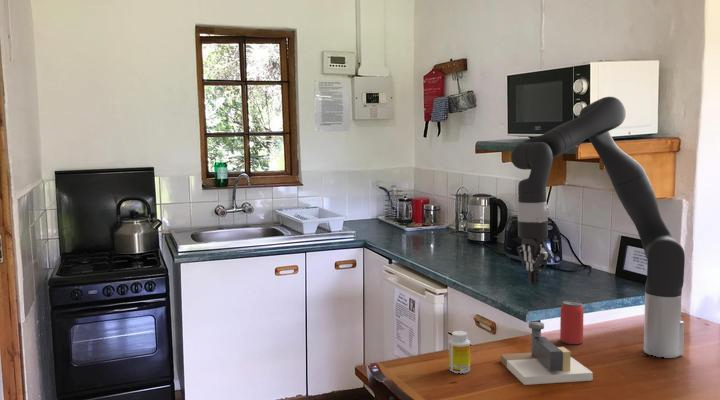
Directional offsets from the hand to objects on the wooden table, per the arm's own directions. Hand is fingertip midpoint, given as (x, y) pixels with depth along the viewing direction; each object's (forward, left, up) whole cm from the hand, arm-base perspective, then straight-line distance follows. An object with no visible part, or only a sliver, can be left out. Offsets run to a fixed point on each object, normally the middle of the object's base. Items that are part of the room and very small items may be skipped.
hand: (533, 284), depth 161 cm
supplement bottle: (+19, -2, -23) cm, 30 cm away
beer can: (-21, -20, -23) cm, 37 cm away
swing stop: (-2, +4, -20) cm, 20 cm away
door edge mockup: (-3, +1, -23) cm, 23 cm away
